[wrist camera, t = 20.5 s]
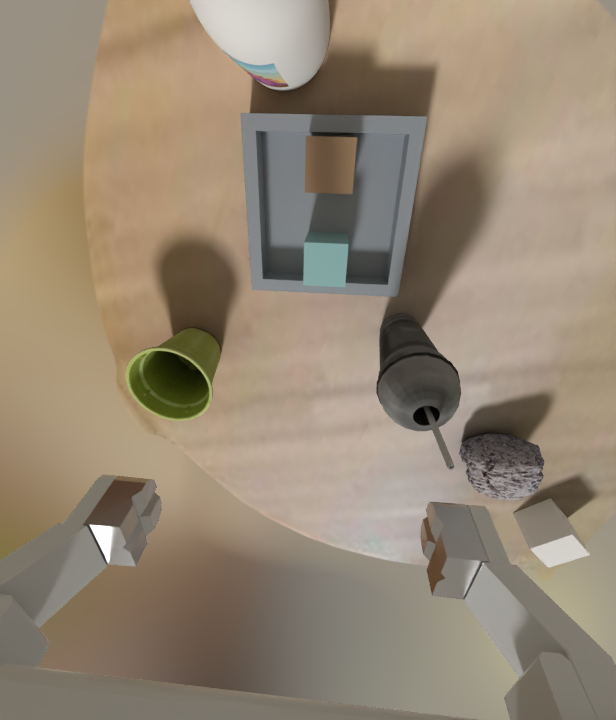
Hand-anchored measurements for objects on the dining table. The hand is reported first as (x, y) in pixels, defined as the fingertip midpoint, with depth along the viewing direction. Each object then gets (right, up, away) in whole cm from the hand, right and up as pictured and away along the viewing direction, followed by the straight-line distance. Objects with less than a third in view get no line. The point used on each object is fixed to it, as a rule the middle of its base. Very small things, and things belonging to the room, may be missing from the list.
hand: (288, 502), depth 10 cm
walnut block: (+3, +22, +22) cm, 32 cm away
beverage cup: (+11, +8, +31) cm, 34 cm away
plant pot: (-14, +6, +34) cm, 38 cm away
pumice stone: (+26, -8, +39) cm, 47 cm away
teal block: (+3, +16, +26) cm, 31 cm away
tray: (+3, +19, +25) cm, 31 cm away
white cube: (+38, -20, +45) cm, 62 cm away
